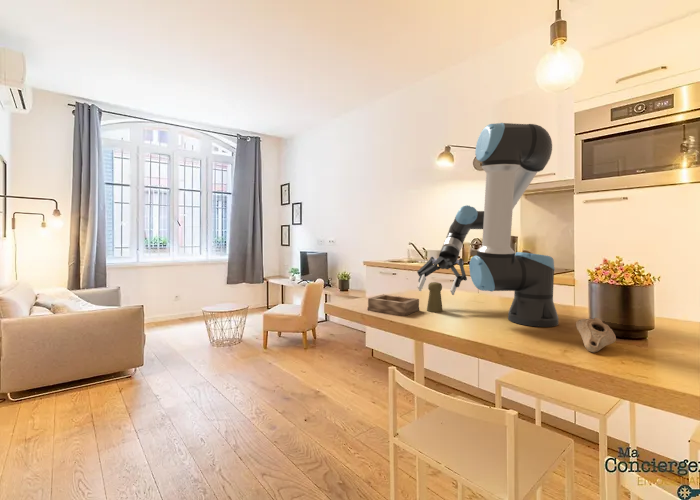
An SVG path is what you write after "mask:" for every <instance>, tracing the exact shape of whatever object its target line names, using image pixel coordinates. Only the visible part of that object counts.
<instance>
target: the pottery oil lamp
mask: <svg viewBox="0 0 700 500" xmlns="http://www.w3.org/2000/svg"><path fill="white" fill-rule="evenodd" d="M575 328H576V330H577V331H578V333H579V334H580V337H581V339H582V343H583V345H584V348H585V349H586V350H587V351H588V352H591V353H597V352H599V351H600V350H602V349H603V348H605V347H606V346H609V345H611V344H613V343H615V342H616V341H617V337H616V334H615V332H614V331H613V329H612V328H611V327H610V326H609V325H608V324H607V323H604V322H603V321H602V319H600V318H598V317H594V318H582V319H578V320H577V321H575Z"/></svg>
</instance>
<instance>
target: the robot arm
mask: <svg viewBox="0 0 700 500" xmlns="http://www.w3.org/2000/svg"><path fill="white" fill-rule="evenodd" d="M552 151H553V140H552V138H551V135H550V134H549V132H548V130H547V129H546V128H544V127H542V126H541V125H538V124H536V123H513V122H511V123H510V122H508V123H507V122H500V123H499V122H498V123H489V124H487V125H486V126H485V127H484V128H483V129H482V131H481V132H480V134H479V135H478V137H477V141H476V144H475V159H476V160H477V161H479V162H481V168H482V170H483V171H484V172H485V173H486V174H485V190H484V191H485V192H484V210H477V209H476V207H473V206H470V205H467V204H466V205H463V206H461V207H460V208H459V210H458V211H457V213H456V214H455V217H454V220H453V222H452V223H451V225H450V227H449V229H448V232H447V235H446V237H445V240H444V241H443V245H442V247H441V249H440V251H439V254H438V257H437V258H434V256H431V257H430V258H429V260H428V261H427V262H426V263H424V264H423V266H422V267H420V268H419V269H418V270H417V275H418V281H417V282H418V284H417V290H418V292H422V289H423V287H424V286H425V283H426V281H427V277H428V276H429V275H431V274H432V273H434V272H436V271H439V270H449V269H450V270H451V271H452V272H453V274H454V275H455V277H454V279H453V282H452V285H451V288H450V293H451V295H452V296H454V295H455V293H456V291H457V288H459V287H460V285H461V282H462V281H468V278H467V274H466V271H465V268H464V265H465V262H464V259H463V258H459V255H460V253H461V250H462V247H463V246H464V245H463V244H464V242H465V239H466V237H467V235H468V234H469V231H470V230H482V242H481V244H482V245H481V246H480V247H479V248H478V249H476V255H473V256H472V257H470V261H469V263H468V264H469V267H468V268H469V275H470V279H471V281H472V283H473V285H474V287H475V288H476V289H477V290H480V291H484V292H490V293H491V292H507V291H509V292H511V291H513V292H514V293H513V294H514V296H513V297H514V298H513V299H512V303H511V304H510V307H509V310H508V314H507V317H508V318H507V319H508V321H510V322H512V323H514V324H515V323H516V324H517V325H518V324H519V325H522V326H523V325H524V326H530V327H538V328H539V327H541V328H543V327H544V328H545V327H546V328H548V327H549V328H550V327H551V328H552V327H556V326H558V325H559V315H558V312H557V309H556V306H555V303H554V302H555V301H554V284H555V283H554V281H555V279H554V278H555V271H556V270H555V261H554V258H553V257H552V256H551V255H545V254H537V253H531V252H530V253H529V252H523V251H522V252H520V251H516V252H515V250H514V249H513V248H512V247H511V237H512V225H513V210H514V208H515V207H516V205H517V204H518V202H519V201H520V200H521V198H522V196H523V195H524V193H525V192H526V190H527V189H528V187H529V186H530V184H531V183H532V182H533V180H534V178H535V177H536V175H537V173H540V172H542V171H543V170H544V169H545V167H546V166H547V164H548V163H549V161H550V159H551V156H552V153H553V152H552ZM458 258H459V259H458ZM455 265H457V266H459V269H460V273H461V274H460V273H459V271H458V270H457V269H456V267H455Z"/></svg>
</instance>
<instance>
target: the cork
mask: <svg viewBox="0 0 700 500" xmlns="http://www.w3.org/2000/svg"><path fill="white" fill-rule="evenodd" d="M427 289H428V290H429V292H428V301H427V305H426V306H427V307H426V312H429V313H437V314H439V313H443V312H444V310H443V301H442V292H441V291H442V289H443V285H442V283H441V282H438V281H431V282H429V283H428V286H427Z"/></svg>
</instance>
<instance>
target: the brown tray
mask: <svg viewBox="0 0 700 500" xmlns="http://www.w3.org/2000/svg"><path fill="white" fill-rule="evenodd" d="M367 305H368V306H367V311H371V312H378V313H383V314H390V315H395V316H403V317H406V316H408V315H411V314H413V313H417V312H418V311H420V299H419V298H414V297H405V296H401V295H400V296H399V295H398V296H397V295H392V294H384V293H383V294H380V295H376V296H372V297H369V298H368V299H367Z"/></svg>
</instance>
